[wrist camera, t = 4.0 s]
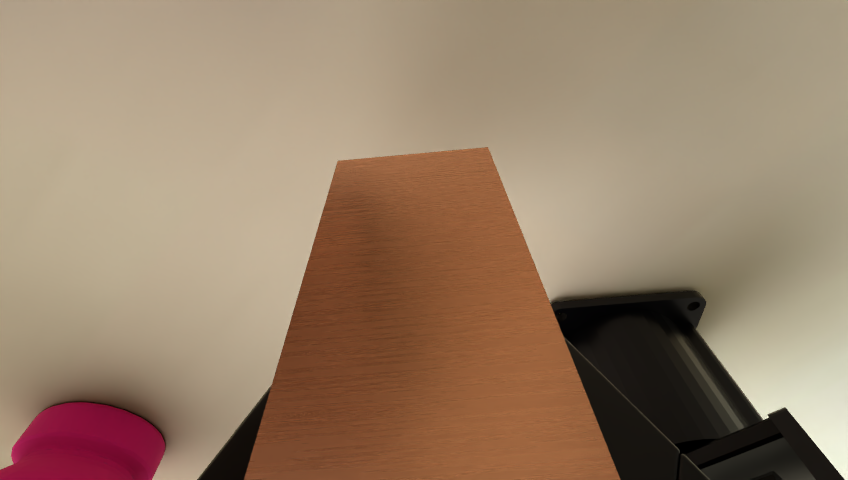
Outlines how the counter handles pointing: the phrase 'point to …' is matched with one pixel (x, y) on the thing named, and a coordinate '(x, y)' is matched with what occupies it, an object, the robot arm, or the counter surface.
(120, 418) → the pepper mill
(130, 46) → the counter surface
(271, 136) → the counter surface
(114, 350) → the counter surface
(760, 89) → the counter surface
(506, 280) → the tall wooden block
